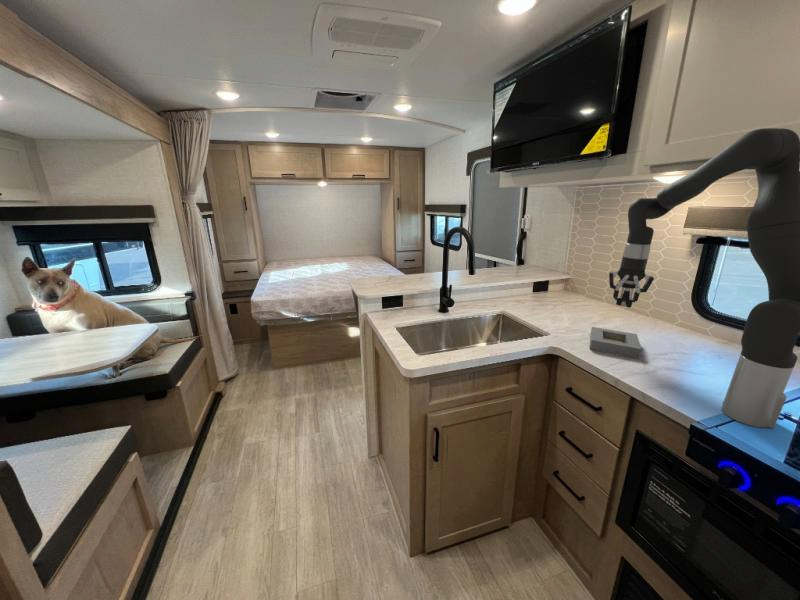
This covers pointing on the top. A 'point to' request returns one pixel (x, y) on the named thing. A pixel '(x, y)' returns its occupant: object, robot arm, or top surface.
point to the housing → (615, 342)
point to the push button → (626, 294)
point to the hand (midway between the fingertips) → (624, 300)
